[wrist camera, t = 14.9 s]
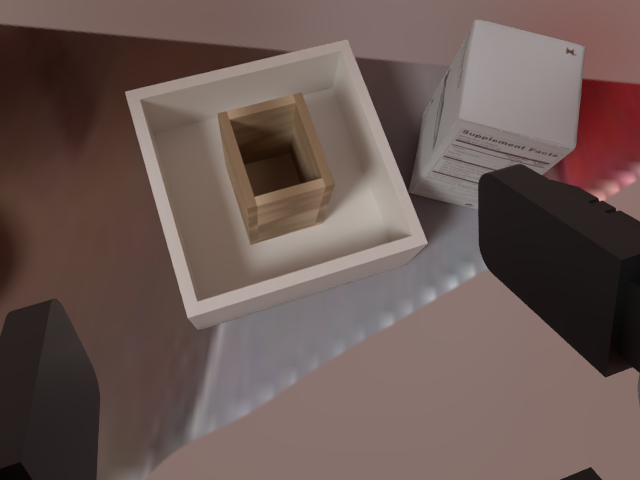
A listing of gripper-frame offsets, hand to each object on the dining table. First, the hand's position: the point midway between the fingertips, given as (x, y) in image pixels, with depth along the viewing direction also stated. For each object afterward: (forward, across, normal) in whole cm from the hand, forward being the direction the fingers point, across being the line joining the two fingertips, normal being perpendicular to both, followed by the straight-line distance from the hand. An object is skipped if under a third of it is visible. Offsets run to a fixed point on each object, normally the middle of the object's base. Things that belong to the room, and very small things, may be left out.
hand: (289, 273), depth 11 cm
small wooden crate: (+30, -4, +12) cm, 32 cm away
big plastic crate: (+30, -4, +13) cm, 33 cm away
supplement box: (+29, -19, +14) cm, 38 cm away
